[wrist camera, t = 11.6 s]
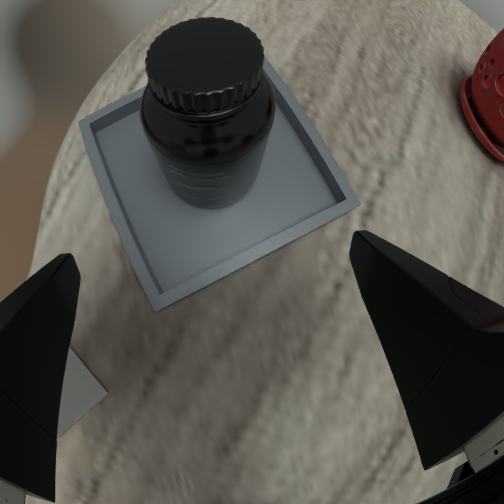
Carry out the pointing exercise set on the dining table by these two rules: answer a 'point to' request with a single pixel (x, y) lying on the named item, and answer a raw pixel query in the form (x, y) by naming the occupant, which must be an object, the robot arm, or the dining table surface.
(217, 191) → the supplement bottle
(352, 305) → the dining table surface
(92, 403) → the milk carton
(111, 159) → the charcoal tray
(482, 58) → the plant pot
